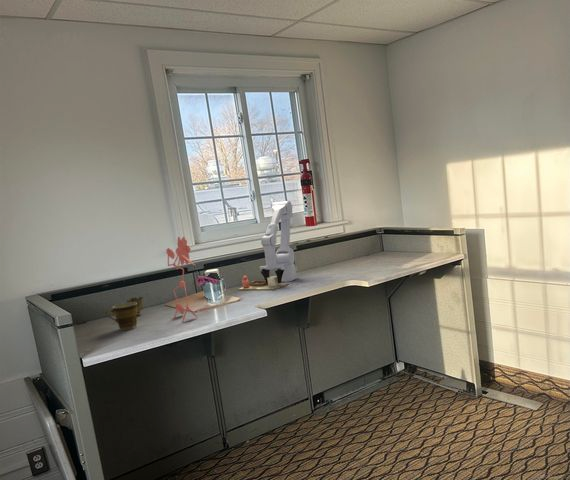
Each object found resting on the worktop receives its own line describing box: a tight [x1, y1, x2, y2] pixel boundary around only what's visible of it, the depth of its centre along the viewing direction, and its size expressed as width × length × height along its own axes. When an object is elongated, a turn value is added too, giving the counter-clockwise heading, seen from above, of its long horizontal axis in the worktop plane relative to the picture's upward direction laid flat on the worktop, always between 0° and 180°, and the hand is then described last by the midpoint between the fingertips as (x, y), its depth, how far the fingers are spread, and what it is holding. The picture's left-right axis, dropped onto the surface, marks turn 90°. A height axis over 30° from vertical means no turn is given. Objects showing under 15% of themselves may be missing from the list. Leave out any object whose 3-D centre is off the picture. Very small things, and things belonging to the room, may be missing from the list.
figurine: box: [166, 236, 210, 321], centre depth 220 cm, size 15×26×35 cm, turn 36°
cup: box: [126, 296, 144, 317], centre depth 237 cm, size 8×7×8 cm
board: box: [238, 280, 290, 291], centre depth 270 cm, size 14×23×2 cm, turn 56°
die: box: [267, 275, 281, 286], centre depth 269 cm, size 5×5×5 cm
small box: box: [204, 268, 220, 277], centre depth 265 cm, size 8×6×13 cm
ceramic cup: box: [105, 302, 138, 332], centre depth 211 cm, size 13×10×10 cm
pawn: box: [241, 275, 250, 288], centre depth 271 cm, size 3×3×6 cm
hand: (273, 283), depth 269 cm, fingers open, 7 cm apart
